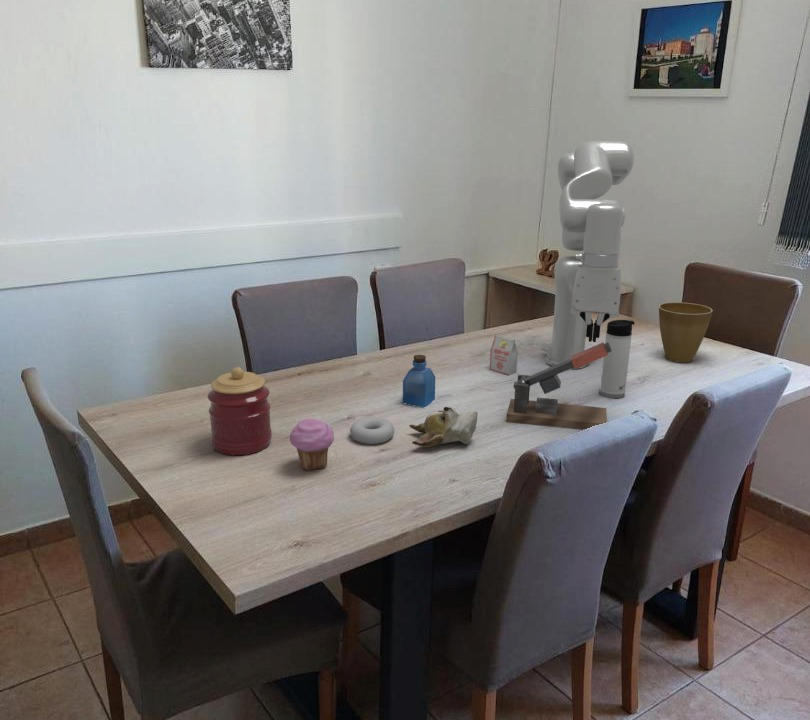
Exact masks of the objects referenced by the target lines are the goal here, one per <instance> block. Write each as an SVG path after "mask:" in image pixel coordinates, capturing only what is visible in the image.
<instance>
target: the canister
mask: <svg viewBox="0 0 810 720" xmlns="http://www.w3.org/2000/svg"><path fill="white" fill-rule="evenodd" d="M210 383H211V384H210V388H211V390H210V391H209V392H208V394H207V399H208V401H210V407H209V408H208V413H209V418H210V420H209V421H210V429H211V430H210V431H211V434H210V438H211V440H210V441H211V443H212V447H213V449H214V448H215V449H216V450H215V449H214V450H215V451H217V452H218V451H219V453H220V452H221V453H220V454H223V453H225V455H228V454H229V455H231V456H242V455H243V456H245V455H250V454H254V453H257V452H260V450H261V451H263V450H265V449H266V448H267V447H268V446H270V444H271V441H272V437H273V433H272V428H271V427H272V425H271V412H270V411H271V403H270V402H269V401H268V397H269V395H270V392H271V391H270V389H269V388H268V387H267V386H265V383H266V381H265V379H264V378H263V377H262V376H260V375H257V374H256V373H255V372H252V371H251V372H250V371H244V369H242V368H241V367H239V366H237V367H234V368H232V369H231V371H230V372H226V373H223V374H221V375H219V376H218V377H217V378H215V379H214V380H213V381H212V382H210ZM264 448H265V449H264Z"/></svg>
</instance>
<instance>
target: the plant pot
mask: <svg viewBox="0 0 810 720" xmlns="http://www.w3.org/2000/svg"><path fill="white" fill-rule="evenodd" d="M712 314H713V309H712V308H711V307H709V306H707V305H704V304H698V303H691V302H690V303H689V302H674V301H673V302H663V303H661V304H659V305H658V318H659V320H658V321H659V322H658V323H659V330H660V338H661V343H662V347H663V351H664V354H665V358H666V359H667V360H668V361H671V362H673V363H674V362H675V363H681V364H684V363H691V362H692V361H693V359H694V358H695V356H696V355H697V354H698V353H697V352H698V350H699V348H700V347H701V345H702V343H703V340H704V338H705V335H706V332H707V330H708V328H709V324H710V322H711V318H712Z"/></svg>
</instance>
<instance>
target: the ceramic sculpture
mask: <svg viewBox="0 0 810 720" xmlns="http://www.w3.org/2000/svg"><path fill="white" fill-rule="evenodd" d="M478 414H479V413H478V411H471V412H469V411H468V412H466V413H462V414H460V413H458V412H457V411H456V409H455V408H452V407H448V406H444V407H443V409H442V410H438V411H432V412H430V413H429V414H428V415H427V416H426V418H425V419H424V422H423V423H419V424H418V425H416V424H409V427H410V428H411V429H412V430H414V431H416V432H418V433H420V434H422V435H420V436H419V437H418V438H417V439H416V440H414V441H412V442H411V444H412V445H416V446H420V447H425V448H432V447H434V446H437V445H443V444H448V443H453V442H461V443H463V444H464V445H469V443H470V441H471V439H472V437H473V435H474V433H475V431H476V430H477V429H476V428H477V422H478V416H479V415H478Z"/></svg>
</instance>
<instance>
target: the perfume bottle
mask: <svg viewBox="0 0 810 720" xmlns="http://www.w3.org/2000/svg"><path fill="white" fill-rule="evenodd" d="M426 359H427V356H426V355H424V354H416V355H413V360H412V366H413V367H412V368H411V369H409V370H408V371H407V373H406V374H405V377H404V378H403V379H402V404H403V403H406V404H405V405H408V404H410V405H409V406H413V405H415V407H418V406H420V408H424V407H426V406H427V407H428V406H430V404H432V403H433V402H434V401H435V400H436V375H435V373H434V372H433V371H432V369H431V368H430V367H426V366H427V360H426ZM433 400H434V401H433ZM432 401H433V402H432ZM427 407H426V408H427Z"/></svg>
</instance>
